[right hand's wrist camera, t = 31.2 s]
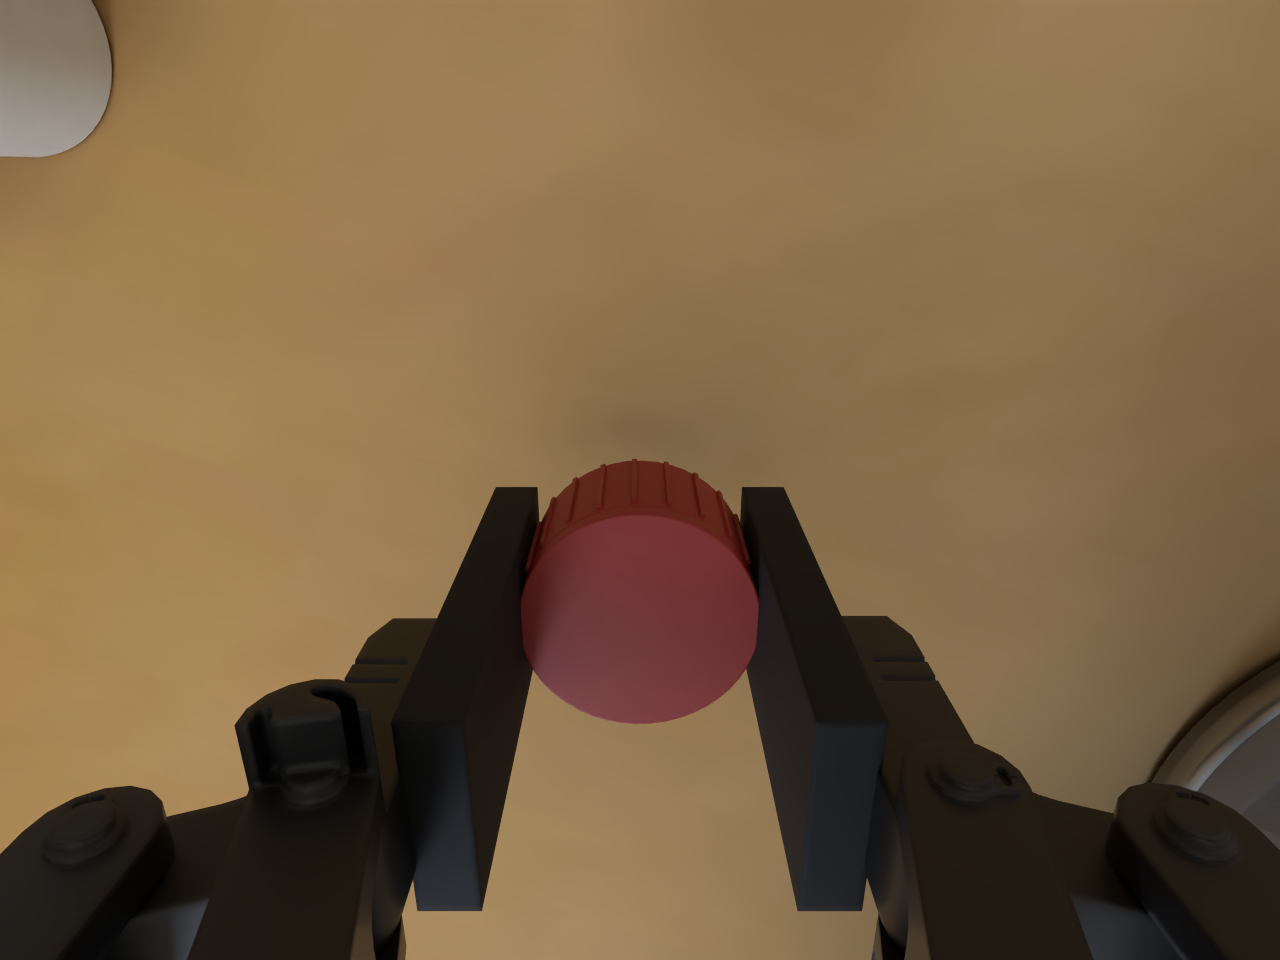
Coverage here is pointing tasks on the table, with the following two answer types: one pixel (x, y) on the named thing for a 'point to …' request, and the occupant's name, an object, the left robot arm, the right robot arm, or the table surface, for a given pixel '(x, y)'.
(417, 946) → the table surface
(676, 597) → the cap
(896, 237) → the table surface
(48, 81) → the bottle
